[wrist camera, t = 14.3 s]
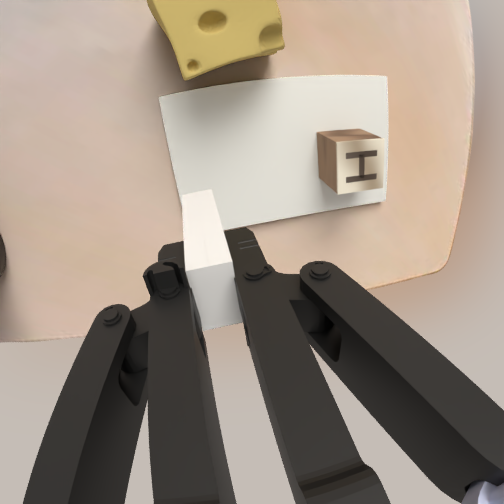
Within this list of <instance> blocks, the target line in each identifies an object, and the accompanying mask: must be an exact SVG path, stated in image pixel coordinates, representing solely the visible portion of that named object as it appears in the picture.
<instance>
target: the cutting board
mask: <svg viewBox="0 0 504 504" xmlns="http://www.w3.org/2000/svg"><path fill="white" fill-rule="evenodd" d="M159 102H160V107H161V112H162V117H163V123H164V128H165V133H166V137H167V142H168V147H169V152H170V157H171V161H172V166H173V170H174V175H175V179H176V184H177V188H178V192H179V197H180V201H181V205H182V195H185V194H189V193H194V192H199V191H204V190H209V189H212V192H213V196H214V199H215V203H216V206H217V210H218V213H219V217H220V220H221V224H222V227H223V230H228V229H233V228H238V227H243V226H248V225H253V224H259V223H264V222H269V221H274V220H280V219H285V218H291V217H296V216H301V215H307V214H312V213H318V212H324V211H329V210H335V209H341V208H347V207H352V206H358V205H364V204H370V203H376V202H382V201H386V188H387V168H388V88H387V76H377V75H316V76H296V77H282V78H271V79H261V80H252V81H244V82H236V83H229V84H222V85H216V86H210V87H204V88H199V89H193V90H188V91H183V92H178V93H173V94H169V95H164V96H160V97H159ZM345 129H362V130H365V131H367V132H369V133H372V134H374V135H377V136H379V137H381V138H384V139H385V142H384V177H383V188H379V189H372V190H365V191H358V192H352V193H345V194H339V195H338V194H337V193H336V192H334V191H333V190H332V189H331V188H330V187H329V186H328V185H327V184H326V183H324V182H323V181H322V180H321V179H320V178H319V172H318V151H317V134H316V132H321V131H333V130H345Z"/></svg>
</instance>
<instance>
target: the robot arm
mask: <svg viewBox="0 0 504 504" xmlns="http://www.w3.org/2000/svg"><path fill="white" fill-rule="evenodd" d="M182 213H183V237H184V241H181V242H176V243H172V244H167V245H164V246H163V247H162V248H161V250H160V251H159V253H158V262H156V263H154V264H153V265H151V266H149V267H148V268H147V269H146V270H145V272H144V274H143V278H144V281H145V283H146V286H147V289H148V291H149V294H150V301H148V302H147V303H146V304H144V305H142V306H141V307H138V308H136V309H134V310H132V311H130V310H129V308H128V307H127V306H125V305H122V304H116V305H111V306H109V307H106V308H104V309H103V310H102V311H101V312H99V314H98V315H97V316H96V318H95V320H94V322H93V324H92V326H91V328H90V330H89V332H88V334H87V336H86V338H85V340H84V342H83V344H82V346H81V348H80V350H79V353H78V355H77V357H76V359H75V361H74V363H73V366H72V368H71V370H70V372H69V375H68V377H67V379H66V382H65V384H64V386H63V389H62V391H61V393H60V396H59V398H58V401H57V403H56V406H55V408H54V411H53V413H52V416H51V418H50V421H49V424H48V426H47V429H46V432H45V434H44V437H43V440H42V443H41V446H40V449H39V452H38V455H37V458H36V461H35V464H34V467H33V470H32V473H31V477H30V480H29V483H28V487H27V490H26V494H25V498H24V501H23V504H124V503H125V498H126V492H127V487H128V482H129V477H130V473H131V468H132V463H133V459H134V454H135V450H136V445H137V441H138V437H139V432H140V428H141V424H142V420H143V415H144V411H145V407H146V403H147V400H148V426H149V448H150V464H151V475H152V488H153V498H154V504H237V503H236V500H235V495H234V491H233V486H232V482H231V477H230V473H229V468H228V464H227V459H226V454H225V450H224V444H223V439H222V435H221V429H220V424H219V419H218V413H217V408H216V402H215V397H214V392H213V385H212V379H211V374H210V367H209V361H208V355H207V348H206V342H205V338H204V335H203V332H202V329H203V331H205V330H209V329H214V328H219V327H224V326H228V325H233V324H238V323H242V322H243V324H244V329H245V334H246V340H247V345H248V346H249V348H250V352H251V355H252V359H253V362H254V366H255V370H256V373H257V377H258V380H259V384H260V387H261V391H262V394H263V397H264V401H265V404H266V408H267V411H268V415H269V418H270V422H271V425H272V428H273V432H274V435H275V438H276V442H277V445H278V448H279V451H280V455H281V458H282V461H283V464H284V468H285V471H286V474H287V478H288V481H289V484H290V487H291V490H292V493H293V496H294V500H295V502H296V504H391V503H390V501H389V499H388V497H387V494H386V492H385V490H384V488H383V485H382V483H381V481H380V479H379V477H378V476H377V474H376V473H375V471H374V470H373V469H372V468H371V467H369V466H367V465H366V464H365V463H364V462H363V461H362V459H361V457H360V455H359V453H358V451H357V449H356V446H355V444H354V442H353V440H352V437H351V435H350V433H349V431H348V428H347V426H346V424H345V422H344V419H343V417H342V415H341V413H340V411H339V408H338V406H337V404H336V402H335V399H334V398H333V395H332V393H331V391H330V389H329V386H328V384H327V382H326V380H325V377H324V375H323V373H322V371H321V369H320V366H319V364H318V362H317V360H316V358H315V355H314V353H313V351H312V349H311V347H310V345H311V346H312V347H313V348H314V350H315V351H316V352H317V353H318V354H319V355H320V356H321V358H322V359H323V360H324V361H325V362H326V363H327V365H328V366H329V367H330V368H331V369H332V370H333V372H334V373H336V375H337V376H338V377H339V378H340V380H341V381H342V382H343V383H344V384H345V385H346V386H347V388H348V389H349V390H350V391H351V392H352V393H353V394H354V396H355V397H356V398H357V399H358V400H359V401H360V402H361V403H362V405H363V406H364V407H365V408H366V409H367V410H368V411H369V412H370V414H371V415H372V416H373V417H374V418H375V419H376V421H378V423H379V424H380V425H381V426H382V427H383V428H384V429H385V431H386V432H387V433H388V434H389V435H390V436H391V437H392V438H393V439H394V441H395V442H396V443H397V444H398V445H399V446H400V447H401V449H402V450H403V451H404V452H405V453H406V454H407V455H408V456H409V457H410V459H411V460H412V461H413V462H414V463H415V464H416V465H417V466H418V467H419V468H420V470H421V471H422V472H423V473H424V474H425V475H426V476H427V477H428V478H429V479H430V480H431V481H432V482H433V483H434V484H435V485H436V486H437V487H438V488H439V489H440V490H441V491H442V492H444V493H445V494H447V495H448V496H449V497H451V498H452V499H454V500H456V501H458V502H460V503H461V504H504V410H503V409H502V408H500V407H499V406H498V405H497V404H496V403H495V402H494V401H493V400H492V399H491V398H490V397H489V396H488V395H487V394H485V393H484V392H483V391H482V390H481V389H480V388H479V387H478V386H477V385H476V384H474V383H473V382H472V381H471V380H470V379H469V378H468V377H467V376H466V375H465V374H464V373H462V372H461V371H460V370H459V369H458V368H457V367H456V366H454V364H452V363H451V362H450V361H449V360H448V359H447V358H446V357H444V356H443V355H442V354H441V353H440V352H439V351H438V350H437V349H435V348H434V347H433V346H432V345H431V344H430V343H428V342H427V341H426V340H425V339H424V338H423V337H422V336H420V335H419V334H418V333H417V332H416V331H414V330H413V329H412V328H411V327H410V326H409V325H407V324H406V323H405V322H404V321H403V320H402V319H400V318H399V317H398V316H397V315H396V314H394V313H393V312H392V311H391V310H389V309H388V308H387V307H386V306H385V305H384V304H382V303H381V302H380V301H379V300H378V299H376V298H375V297H373V295H371V294H370V293H369V292H368V291H367V290H365V289H364V288H363V287H362V286H361V285H359V284H358V283H357V282H356V281H354V280H353V279H352V278H351V277H349V276H348V275H347V274H346V273H344V272H343V271H342V270H341V269H339V268H338V267H337V266H335V265H334V264H332V263H330V262H325V261H314V262H310V263H308V264H306V265H304V266H303V267H302V268H301V270H300V274H283V273H278V272H276V271H275V269H274V268H273V267H272V266H271V265H269V264H267V262H266V260H265V257H264V255H263V253H262V251H261V249H260V246H259V245H258V242H257V240H256V238H255V236H254V233H253V232H252V231H250V230H249V229H247V228H246V227H245V228H240V229H235V230H230V231H225V232H224V231H223V227H222V224H221V220H220V217H219V213H218V210H217V206H216V203H215V199H214V196H213V192H212V189H209V190H204V191H199V192H194V193H189V194H185V195H182ZM5 261H6V256H5V248H4V244H3V241H2V238H1V235H0V276H1V275H2V273H3V271H4V268H5Z"/></svg>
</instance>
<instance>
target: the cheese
mask: <svg viewBox="0 0 504 504" xmlns="http://www.w3.org/2000/svg"><path fill="white" fill-rule="evenodd" d="M147 3H148V6H149V8H150V11H151V13H152V14H153V16H154V18H155V19H156V21H157V22H158V24H159V25H160V26H161V28H162V29H163V31H164V32H165V34H166V35H167V37H168V39H169V41H170V42H171V44H172V47H173V50H174V52H175V55H176V58H177V61H178V65H179V68H180V71H181V74H182V77H183V79H184V80H185V81H187V80H190V79H192V78H195V77H197V76H199V75H202V74H204V73H206V72H209V71H212V70H214V69H217V68H220V67H222V66H225V65H228V64H231V63H234V62H238V61H242V60H246V59H250V58H254V57H260V56H266V55H272V54H275V53H276V52H277V51H278V50H282V49H284V46H285V44H284V40H283V36H282V20H281V15H280V11H279V8H278V5H277V2H276V0H147Z"/></svg>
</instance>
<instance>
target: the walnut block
mask: <svg viewBox="0 0 504 504" xmlns="http://www.w3.org/2000/svg"><path fill="white" fill-rule="evenodd" d="M316 134H317V151H318V172H319V178H320V179H321V180H322V181H323V182H324V183H326V184H327V185H328V186H329V187H330V188H331V189H332V190H333V191H334V192H336V193H337V194H338V195H339V194H345V193H352V192H358V191H365V190H372V189H379V188H383V177H384V142H385V139H384V138H381V137H379V136H377V135H374V134H372V133H369V132H367V131H365V130H362V129H345V130H333V131H321V132H316Z"/></svg>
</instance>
